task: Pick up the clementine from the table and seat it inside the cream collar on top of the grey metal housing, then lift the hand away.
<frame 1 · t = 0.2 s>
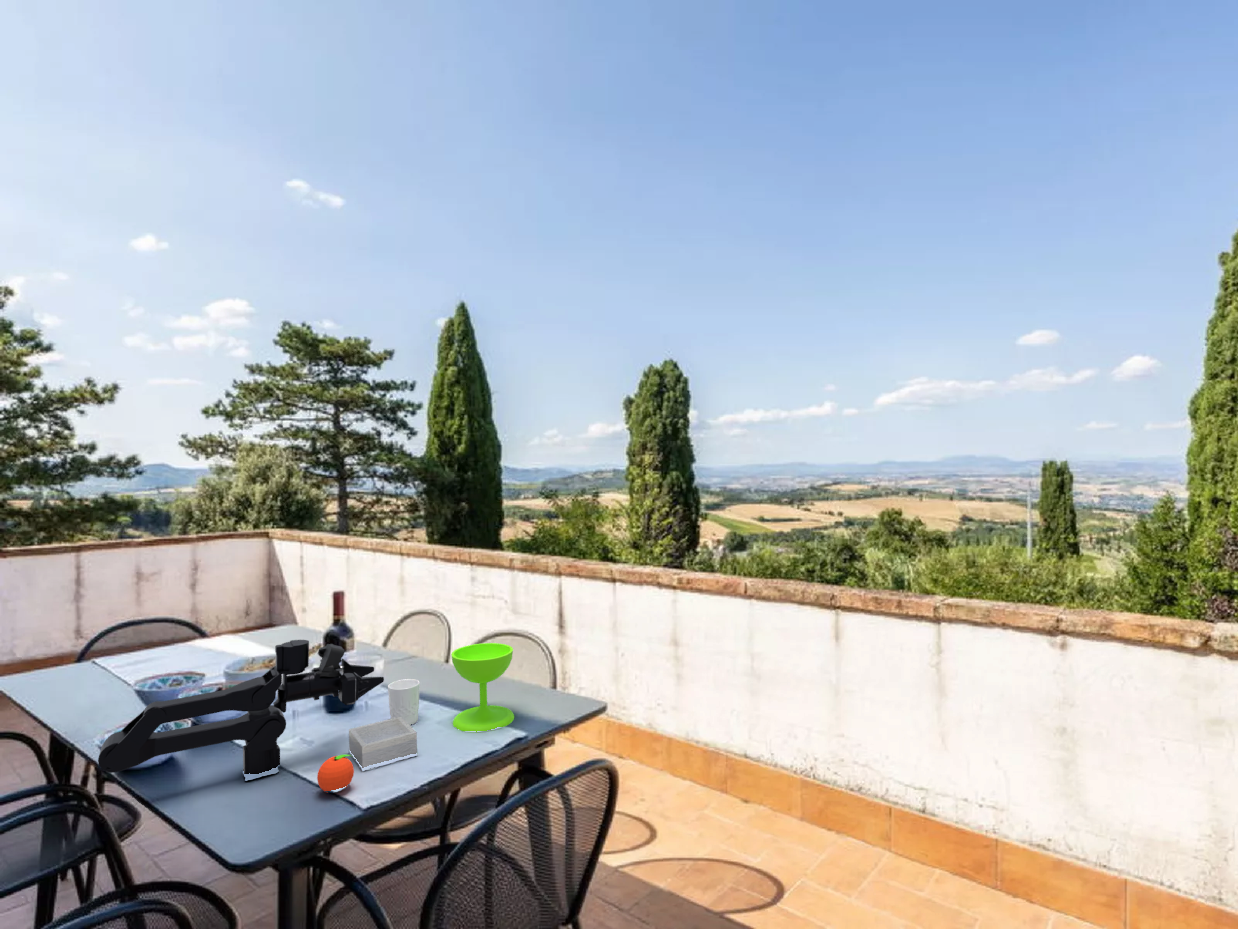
hand: (378, 673, 152), 17 cm above the table, tool horizontal, fingers open, 9 cm apart
white cup: (404, 722, 164), on the table
housing: (382, 754, 145), on the table
clementine: (338, 791, 129), on the table
wineglass: (483, 720, 164), on the table
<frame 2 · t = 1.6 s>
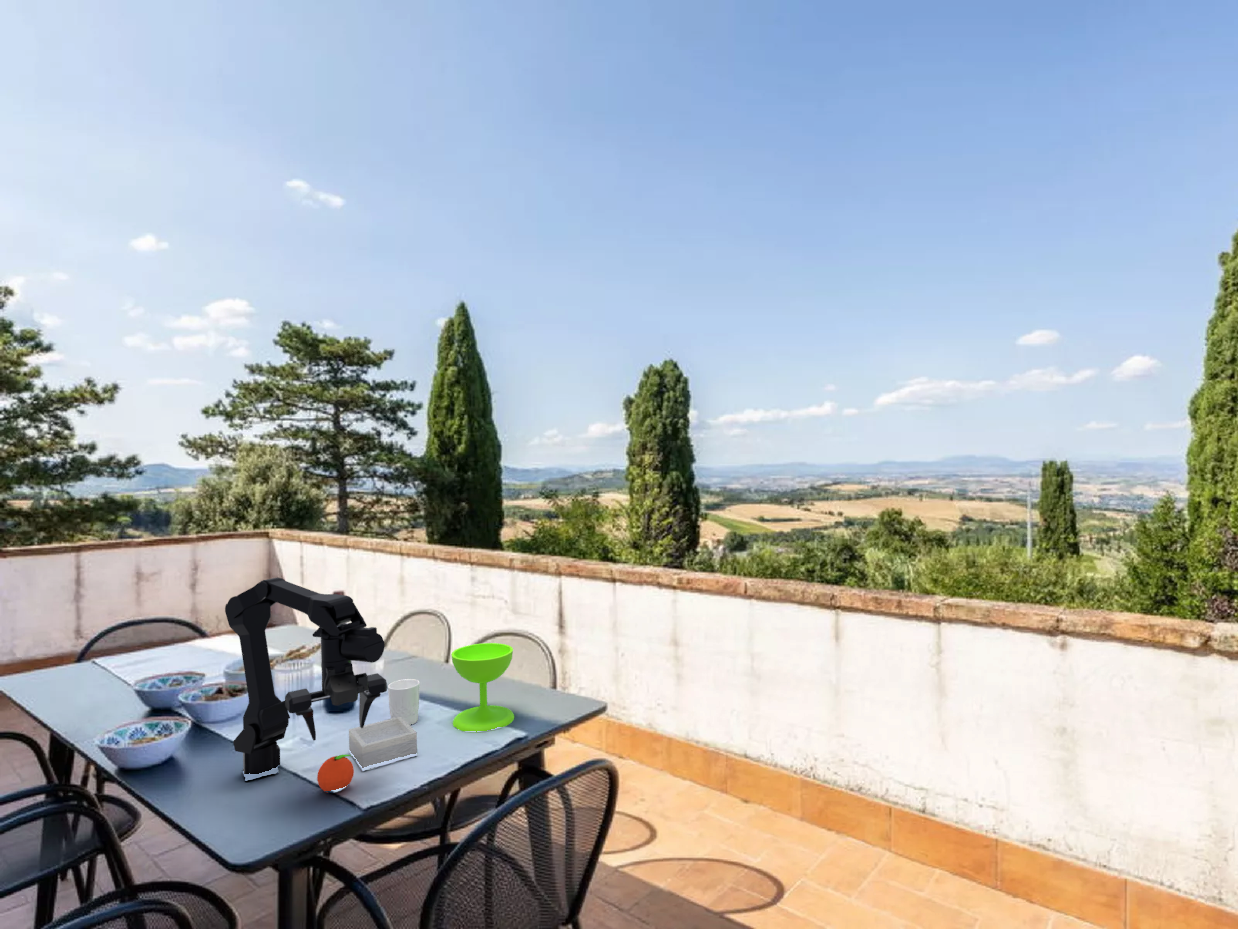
hand: (338, 733, 129), 12 cm above the table, tool pointing down, fingers open, 9 cm apart
nothing on the table moved.
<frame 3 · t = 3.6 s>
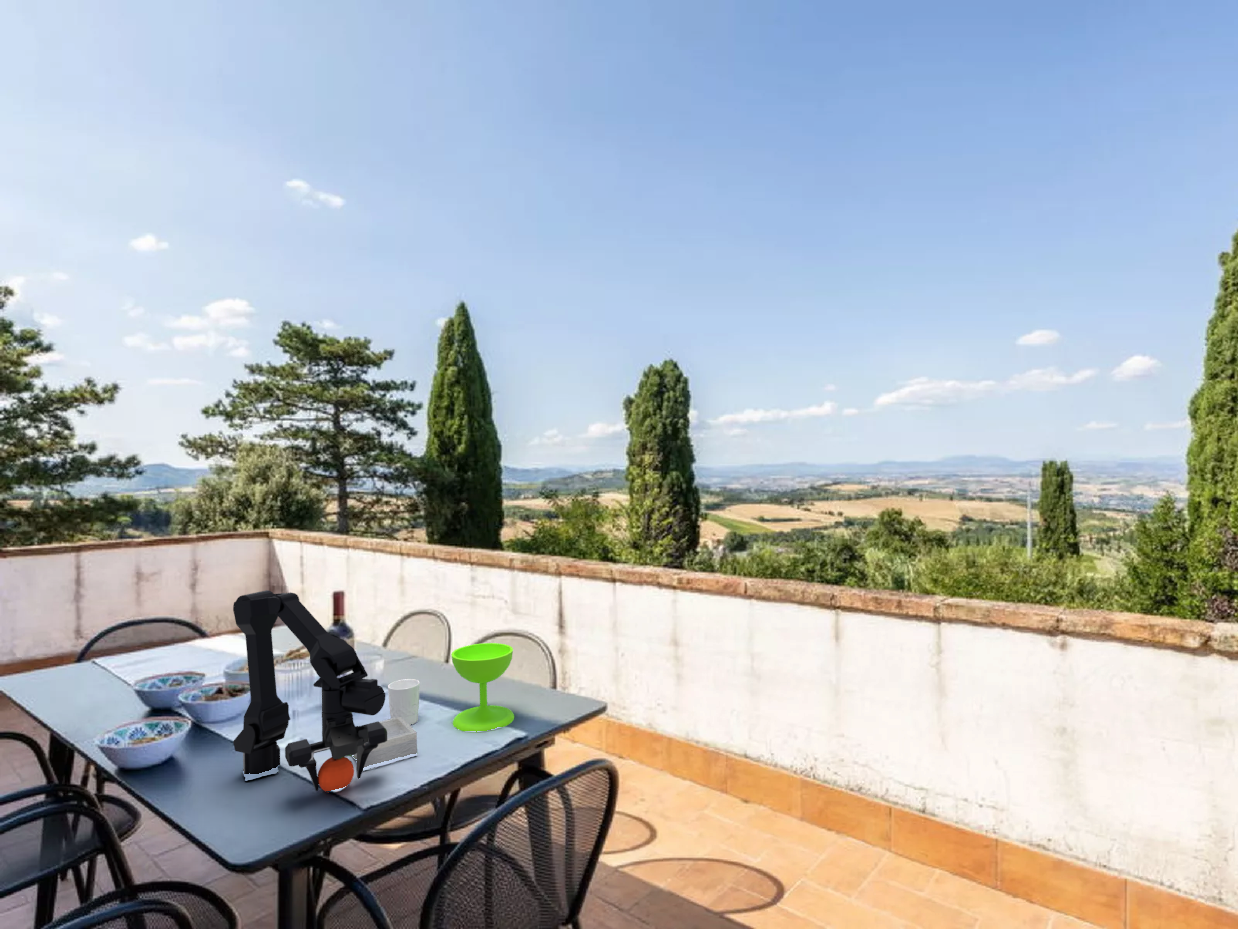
hand: (338, 784, 129), 1 cm above the table, tool pointing down, fingers closed on clementine, 8 cm apart
clementine: (338, 790, 129), on the table, touching gripper
everything else where it was.
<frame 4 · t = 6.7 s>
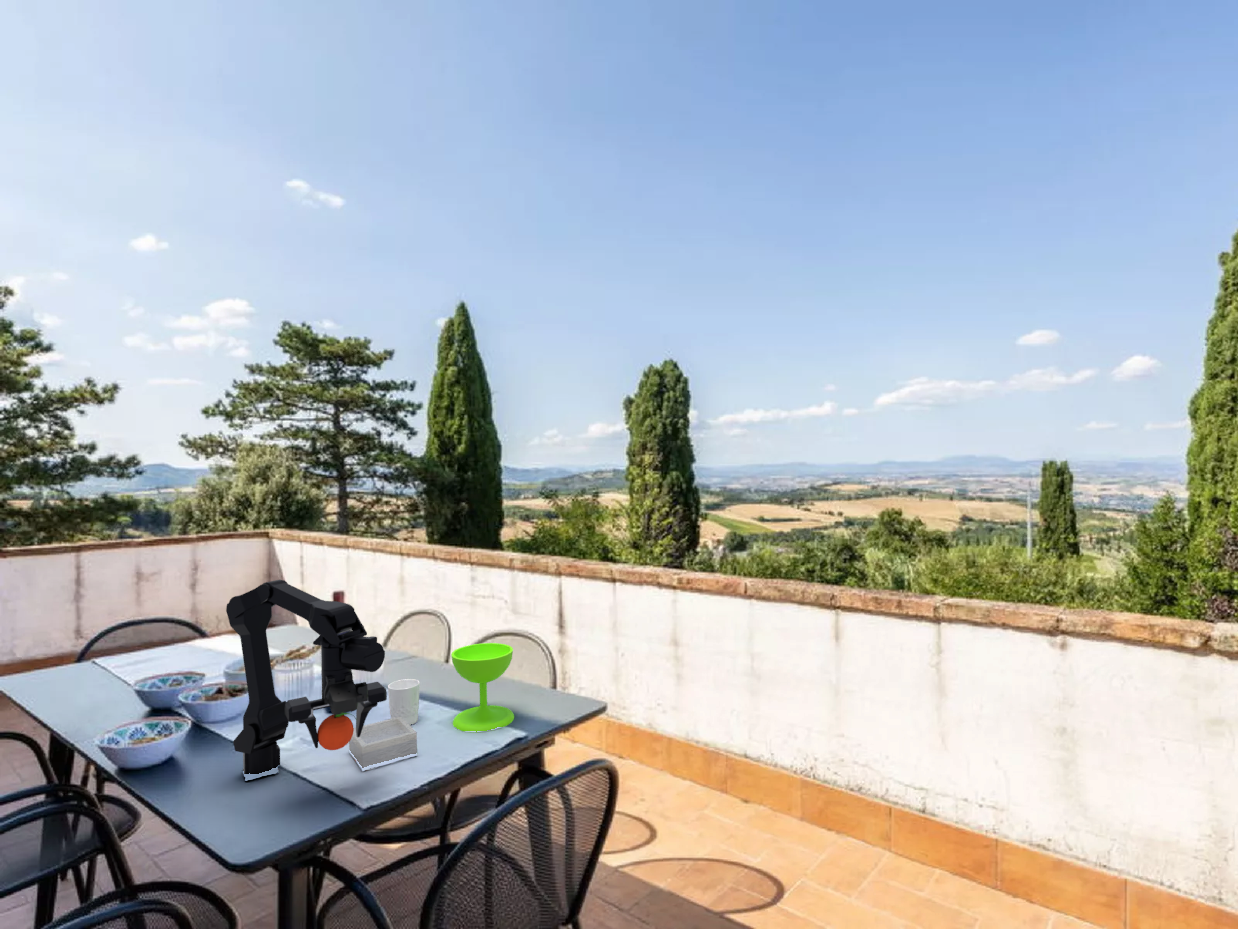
hand: (337, 742, 129), 10 cm above the table, tool pointing down, fingers closed on clementine, 8 cm apart
clementine: (338, 748, 129), point 8 cm above the table, touching gripper
everything else where it was.
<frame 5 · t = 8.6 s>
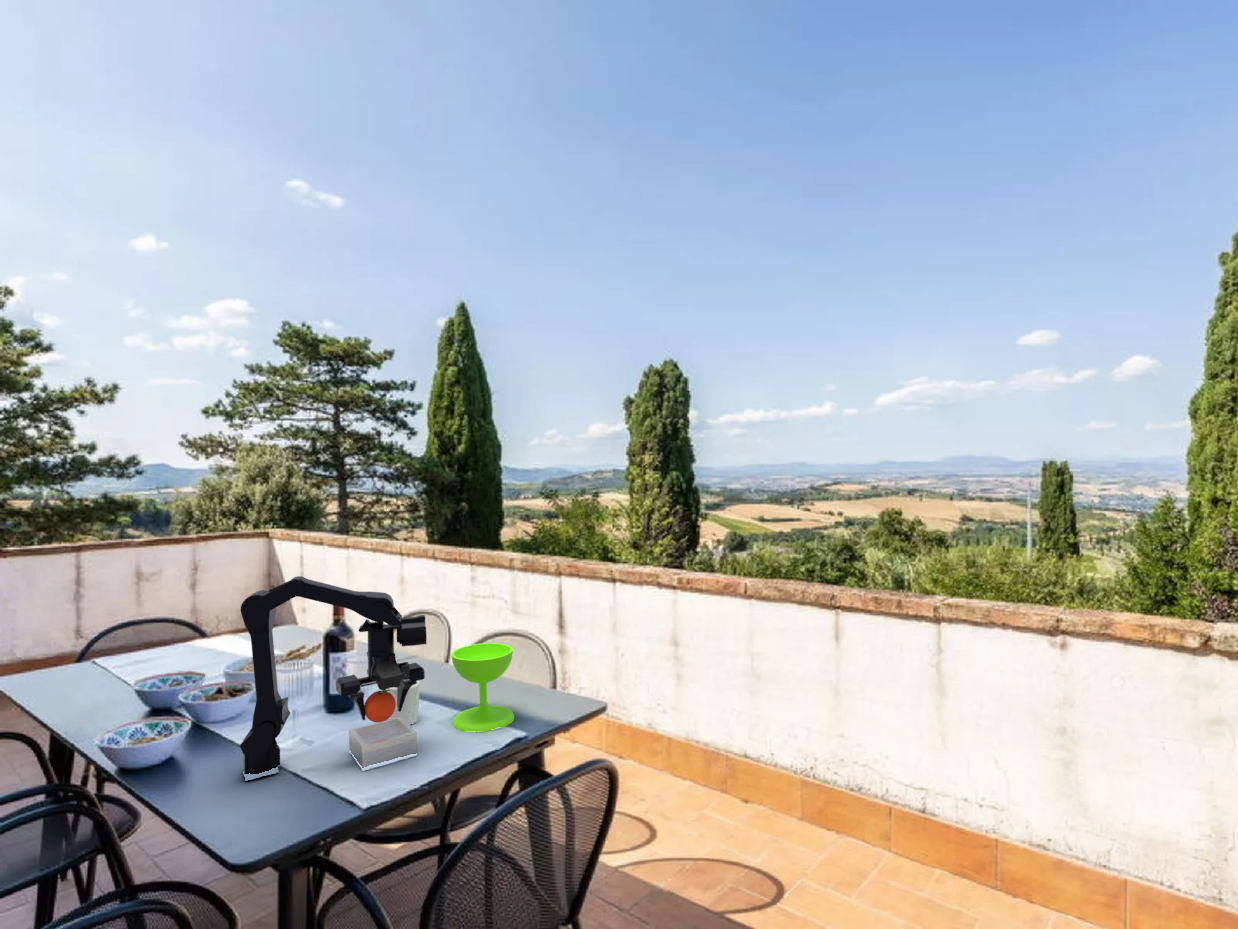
hand: (381, 715, 145), 9 cm above the table, tool pointing down, fingers closed on clementine, 8 cm apart
clementine: (382, 721, 145), point 8 cm above the table, touching gripper
everything else where it was.
when the fingers open (6 cm above the table, at t = 10.1 s): clementine drops 1 cm, resting on housing.
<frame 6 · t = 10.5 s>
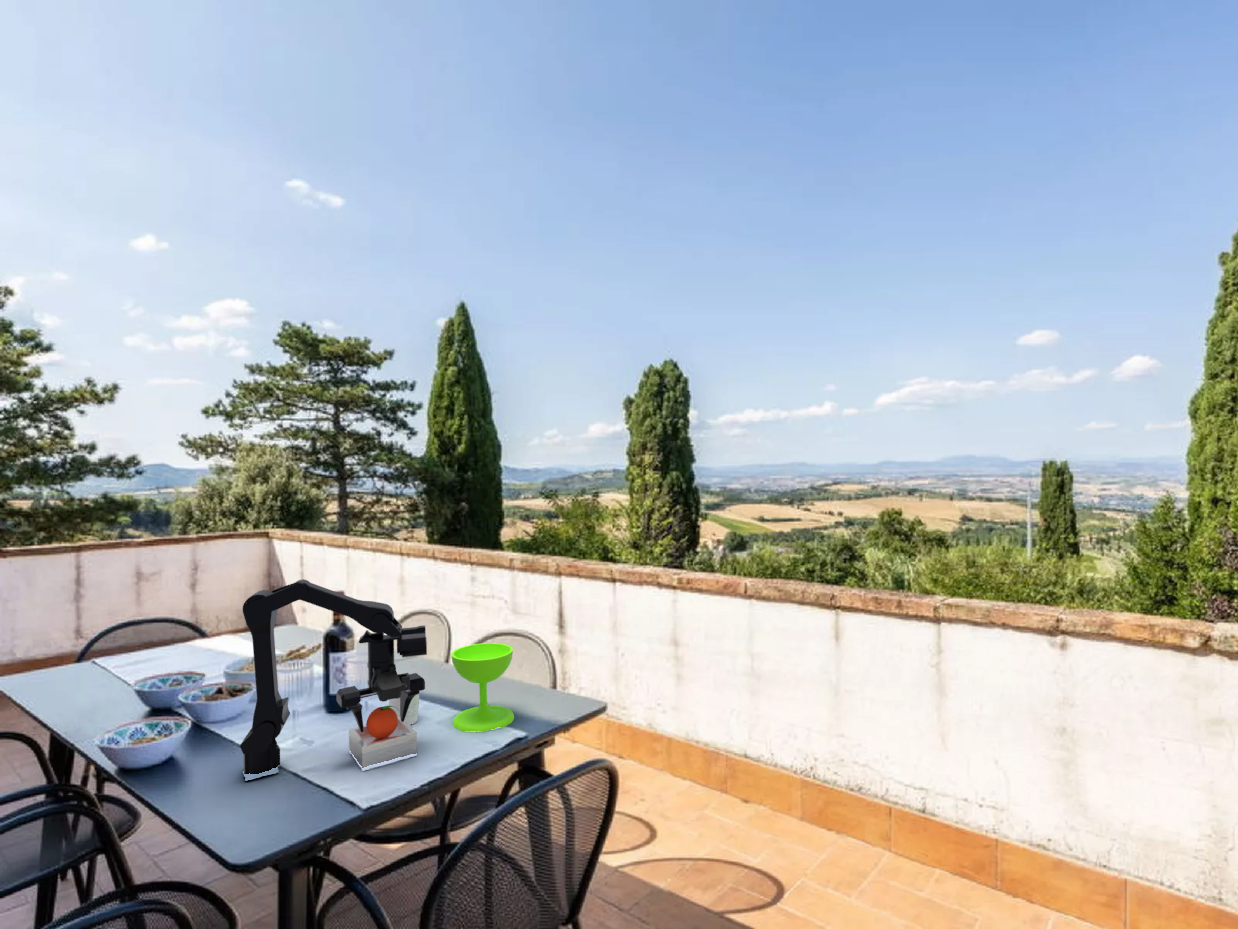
hand: (382, 726, 145), 6 cm above the table, tool pointing down, fingers open, 9 cm apart
clementine: (384, 737, 145), point 4 cm above the table, touching housing
everything else where it was.
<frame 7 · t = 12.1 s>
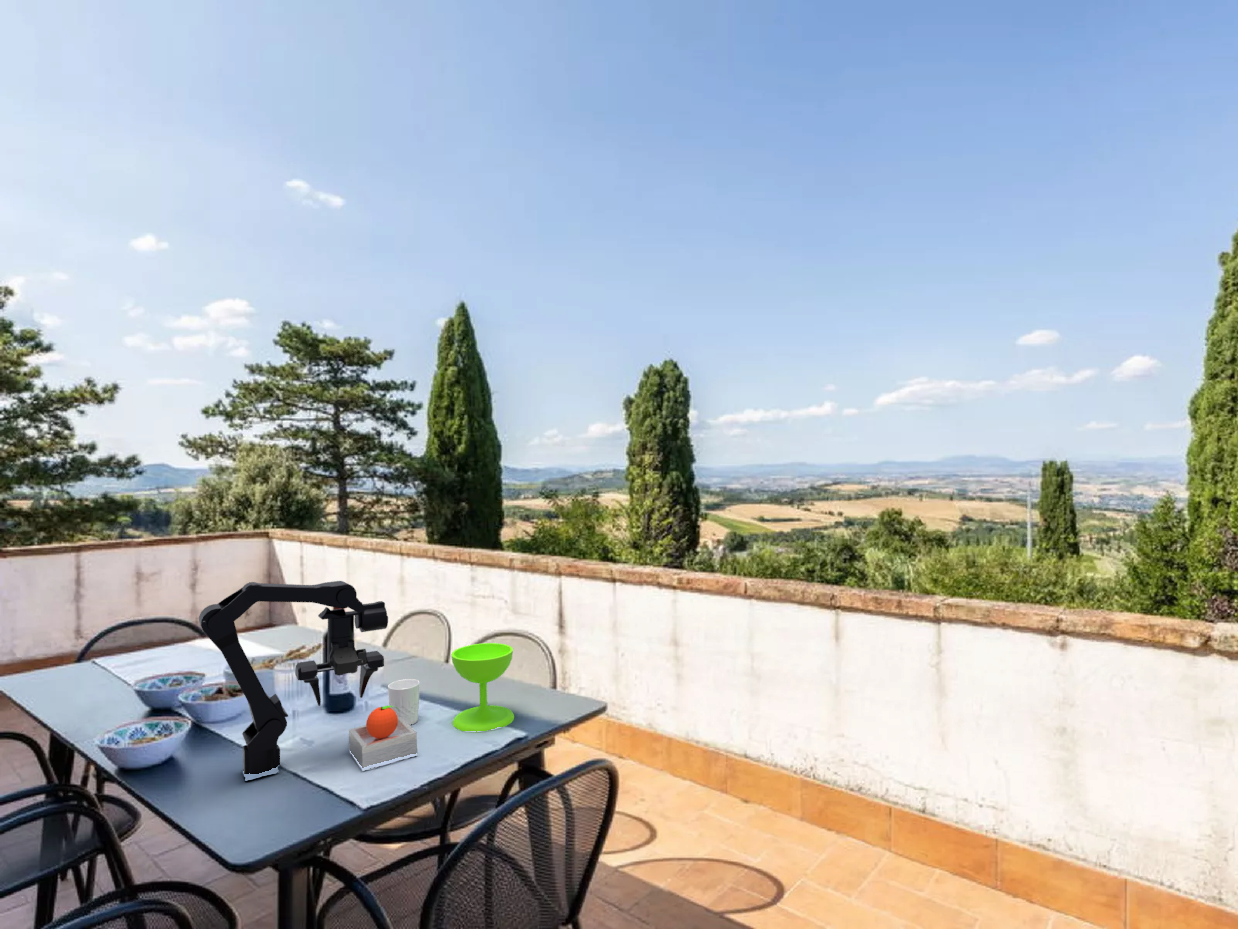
hand: (340, 701, 147), 12 cm above the table, tool pointing down, fingers open, 9 cm apart
nothing on the table moved.
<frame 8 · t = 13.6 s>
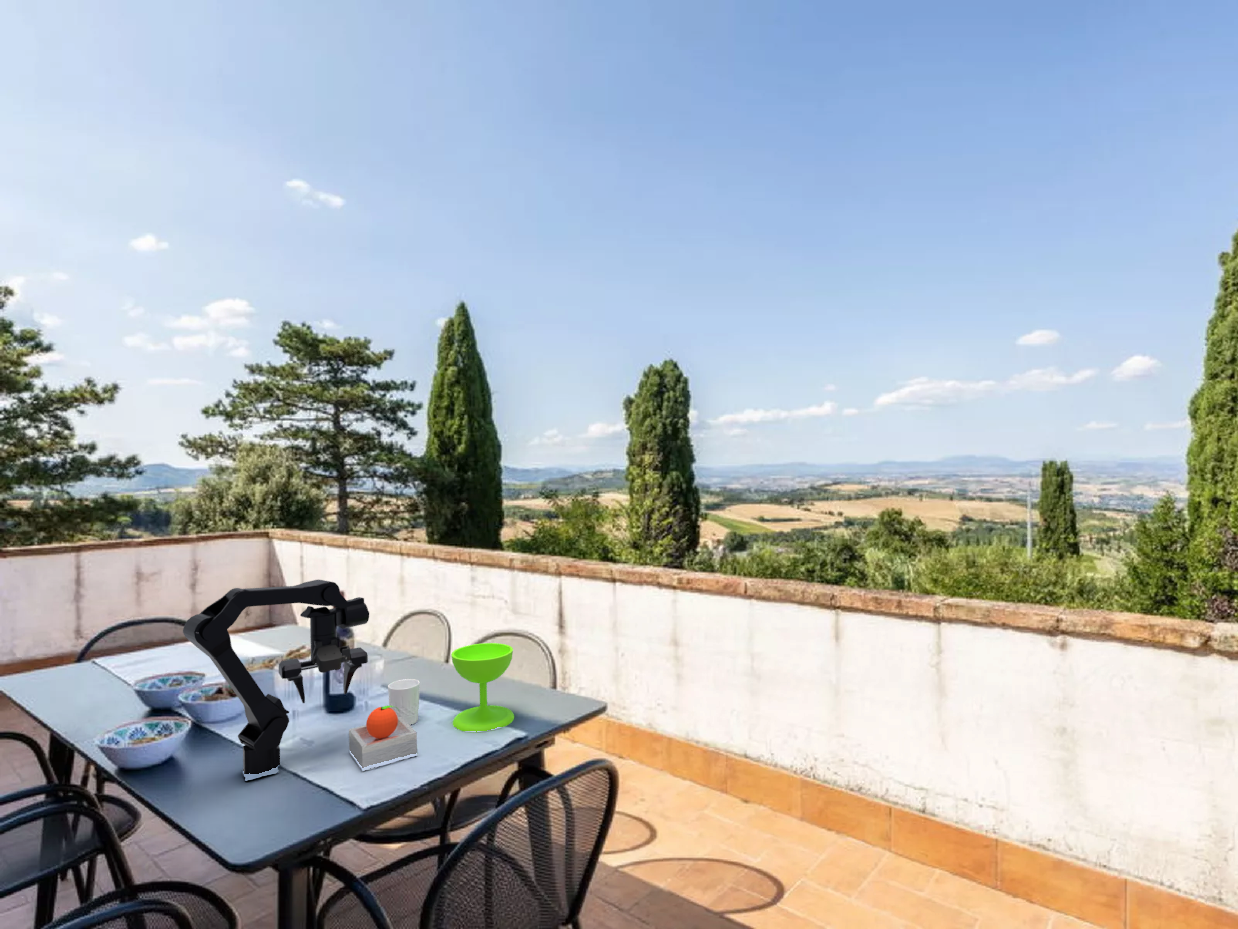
hand: (324, 698, 149), 12 cm above the table, tool pointing down, fingers open, 9 cm apart
nothing on the table moved.
at the end: clementine inside the target area on the housing (0.5 cm from its centre), point 3.8 cm above the housing's base; the gripper is holding nothing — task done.
